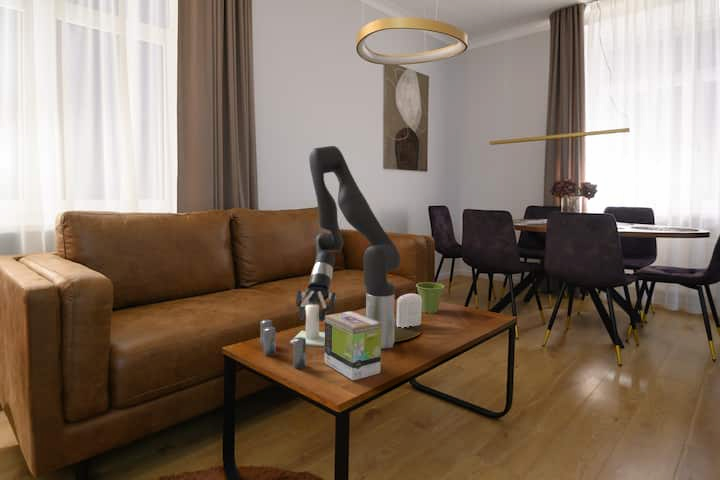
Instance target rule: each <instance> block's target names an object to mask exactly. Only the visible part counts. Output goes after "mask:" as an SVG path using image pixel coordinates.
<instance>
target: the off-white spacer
mask: <svg viewBox="0 0 720 480" xmlns="http://www.w3.org/2000/svg"><path fill="white" fill-rule="evenodd" d="M305 331H306V338H307V339H317V338H319V332H320V304H308V305H306V309H305Z"/></svg>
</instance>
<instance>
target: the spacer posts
mask: <svg viewBox="0 0 720 480" xmlns="http://www.w3.org/2000/svg"><path fill="white" fill-rule="evenodd" d="M292 339H293V338H292ZM276 340H277V339H276V327H274V326H273V321H272V319H262V320H260V346H261V347H262V346H263V347H262V348H263V355H264V356H265V355H266V356H265V357H273V356H275V355H276V354H277V353H276V346H277V343H276ZM306 347H307V345H306V339H305V338H303V337H297V338H294V339H293V344H292V359H293V360H292V364H293V366H292V367H293V368H294V369H298V370H299V369H305V368H306V366H307V365H306V364H307V361H306V360H307V357H306V355H307V352H306V351H307V348H306Z"/></svg>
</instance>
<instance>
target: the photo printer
mask: <svg viewBox="0 0 720 480" xmlns="http://www.w3.org/2000/svg"><path fill="white" fill-rule="evenodd" d="M421 309H422V298H421V296H420V295H419V293H418V294H417V293H406V294H405V293H404V294H403V295H400V296H399V297H398V298H397V300H396V316H395V321H396V323H395V326H396V327H397V328H398V327H401V328H400V329H405V328H404V327H407V328H410V327H409V326H412V327H418V326H420V325H422V311H421Z"/></svg>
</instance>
